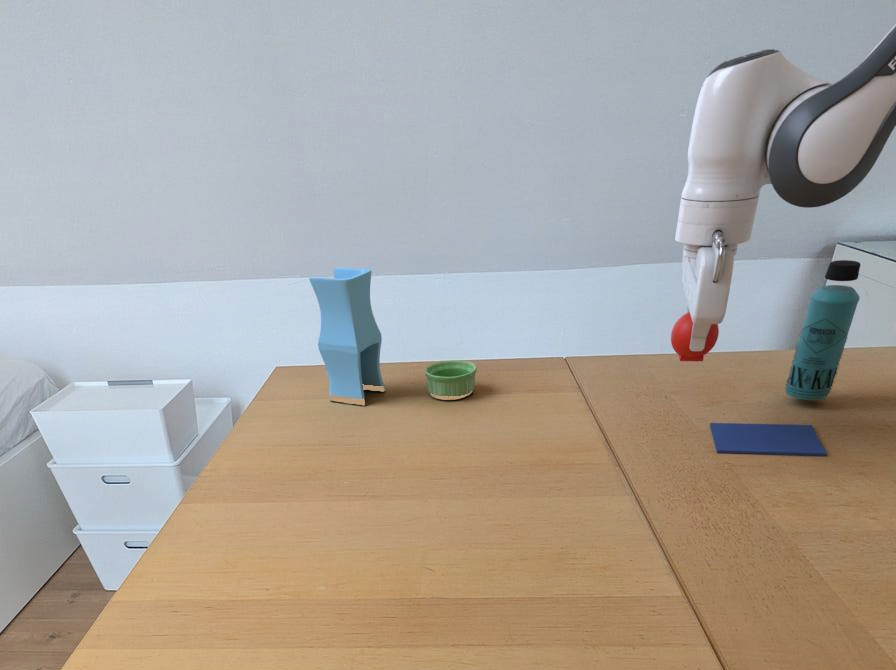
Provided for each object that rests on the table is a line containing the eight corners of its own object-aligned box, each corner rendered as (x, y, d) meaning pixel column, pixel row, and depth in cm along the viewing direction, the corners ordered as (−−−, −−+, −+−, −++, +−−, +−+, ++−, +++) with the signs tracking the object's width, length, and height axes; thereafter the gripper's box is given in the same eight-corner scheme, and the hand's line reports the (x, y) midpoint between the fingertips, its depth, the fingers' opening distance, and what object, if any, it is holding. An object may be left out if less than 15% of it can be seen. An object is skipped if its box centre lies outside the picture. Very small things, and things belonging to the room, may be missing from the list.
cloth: (810, 427, 102) (811, 424, 102) (825, 456, 95) (826, 453, 95) (709, 425, 105) (710, 422, 105) (716, 453, 98) (717, 450, 98)
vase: (350, 386, 130) (335, 267, 117) (386, 391, 126) (375, 269, 114) (326, 401, 124) (308, 278, 112) (363, 406, 121) (349, 280, 109)
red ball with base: (711, 351, 97) (721, 298, 93) (715, 365, 93) (727, 310, 88) (666, 351, 98) (674, 299, 94) (668, 364, 94) (677, 310, 90)
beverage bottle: (779, 394, 113) (815, 256, 101) (825, 396, 111) (867, 256, 99) (783, 409, 108) (821, 266, 96) (830, 411, 107) (876, 266, 94)
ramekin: (469, 382, 127) (468, 357, 125) (483, 398, 120) (482, 372, 118) (421, 388, 126) (419, 364, 124) (432, 405, 119) (431, 379, 117)
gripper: (754, 239, 77) (727, 366, 86) (731, 210, 93) (710, 320, 101) (694, 240, 78) (673, 366, 87) (681, 212, 94) (665, 321, 102)
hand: (693, 341), depth 94 cm, fingers closed on red ball with base, 6 cm apart
